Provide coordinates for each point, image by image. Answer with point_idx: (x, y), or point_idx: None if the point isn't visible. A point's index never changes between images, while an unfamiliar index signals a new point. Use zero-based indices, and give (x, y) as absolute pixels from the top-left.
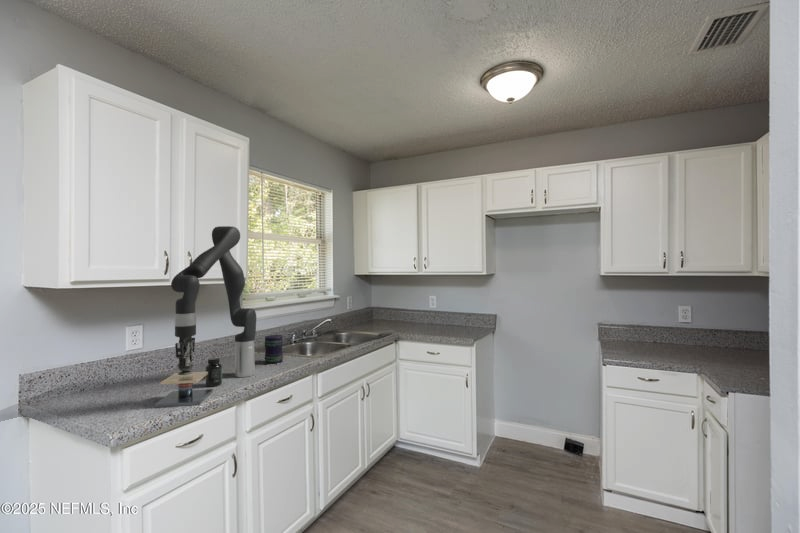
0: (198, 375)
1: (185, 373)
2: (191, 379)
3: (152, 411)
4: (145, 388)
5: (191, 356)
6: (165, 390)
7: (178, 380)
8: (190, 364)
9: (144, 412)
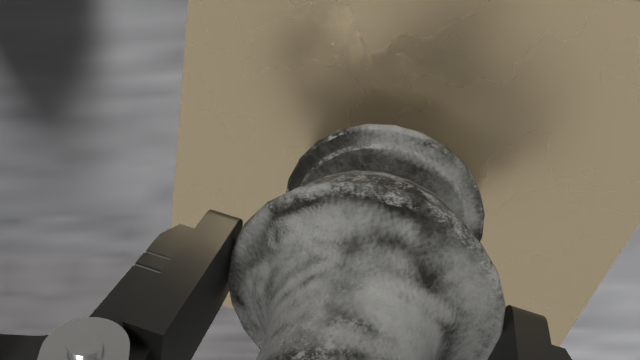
0: (412, 26)
1: (466, 225)
2: (638, 115)
3: (622, 288)
4: (48, 324)
5: (167, 300)
6: (112, 230)
7: (577, 264)
8: (446, 243)
9: (609, 327)
